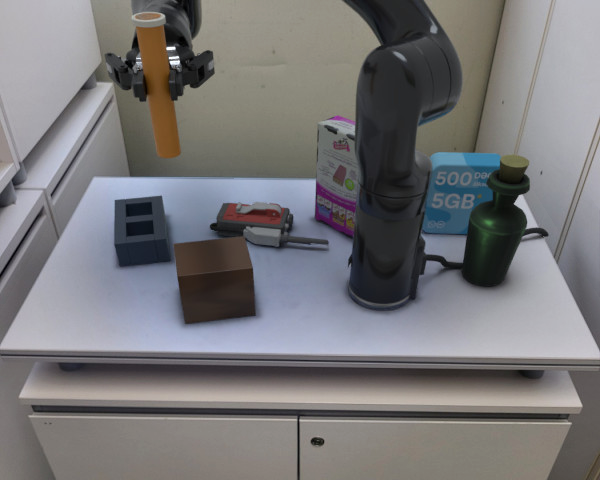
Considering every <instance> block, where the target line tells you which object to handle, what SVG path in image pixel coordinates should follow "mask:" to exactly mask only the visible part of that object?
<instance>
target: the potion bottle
mask: <svg viewBox="0 0 600 480" xmlns="http://www.w3.org/2000/svg"><path fill="white" fill-rule="evenodd" d="M529 166H530V160H529V159H528V158H526V157H525V156H522V155H519V154H505V155H502V156H501V158H500V169H499V170H495V171H493V172H492V173H491V174H490V176H489V177H488V179H487V182H486V184H487V186H488V188H490V189H491V190H493V200H491V201H487V202H483V203H480V204H479V205H477V206H476V207H475V208H474V209H473V210H472V211H471V213H470V217H469V224H468V231H467V234H466V239H465V245H464V251H463V252H464V253H463V258H462V259H463V260H462V263H463V265H462V269H461V273H462V276H463V277H464V279H466V280H467V281H468V282H470V283H471V284H473V285H475V286H481V287H493V286H496V285H499V284H501V283H502V282H503V281H504V280H505V279H506V276H507V273H508V272H509V270H510V267H511V265H512V262H513V260H514V257H515V255H516V252H517V250H518V248H519V246H520V244H521V241H522V239H523V237H524V236H523V234H524V232H525V230H526V229H527V228H528V218H527V215H526V213H525V212H524V210H523V209H521V208H520V207H519V206H518V205H516V204H515V203H516V201H517V200H518V198H519V196H521V195H525V194H527V193H528V192H530V190H531V180H530V179H531V178H530V177H529V175H527V174H526V170H527V169H528V167H529Z"/></svg>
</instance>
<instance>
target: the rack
mask: <svg viewBox="0 0 600 480" xmlns="http://www.w3.org/2000/svg"><path fill="white" fill-rule="evenodd" d="M166 216H167V215H166V211H165V206H164V200H163V195H153V196H141V197H132V198H131V197H129V198H120V199H114V218H113V219H114V223H113V224H114V225H113V226H114V228H113V230H114V231H113V237H114V238H113V245H114V249H115V253H116V258H117V262H118V265H119V267H126V266H135V265H136V266H137V265H145V264H156V263H163V262H164V263H165V262H170V261H171V255H170V246H169V237H168V226H167V218H166Z"/></svg>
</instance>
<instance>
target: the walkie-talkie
mask: <svg viewBox="0 0 600 480" xmlns="http://www.w3.org/2000/svg"><path fill="white" fill-rule="evenodd" d="M290 211H291V210H290V208H289V207H282V206H281V205H280V204H278V203H273V202H269V203H268V202H264V201H263V202H261V201H256V202H253V203H251V204H250V203H249V204H248V203H242V202H240V201H238V203H236V202H223V203H222V205H221V207H220V208H219V211H218V213H217V215H216V218H215V220H216V222H211V223H210V224H209V230H210V231H212V232H217V234H219V235H220V236H225V237H226V236H227V237H241V236H244V237H245V240H247V241H249V242H251V243H253V244H254V245H264V246H271V247H272V246H273V247H280V244H288V243H289V244H297V245H299V244H301V245H308V246H309V245H311V244H314V245H315V244H316V245H325V246H327V245H329V240H328V239H325V238H314V237H305V236H292V235H289V232H287V231H288V230H289V228H291V227H293V226H294V214H293V213H290Z"/></svg>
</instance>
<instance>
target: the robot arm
mask: <svg viewBox="0 0 600 480" xmlns="http://www.w3.org/2000/svg"><path fill="white" fill-rule="evenodd" d="M340 1H341V2H342V3H343V4H345V5H346V6H347V7H349V8H350V9H351V10H353V11H354V12H355V13H356V14H357V15H358V16H359V17H360V18H361V19H362V20H363V21H364V22H365V23H366V24H367V26H368V27H369V29H370V30H371V31H372V33H373V35H374V36H375V39H377V41H378V43H379V44H380V45H378V46H376V47H375V48H373V49H372V50H370V52H368V54H366V56H365V58H364V60H363V61H362V63H361V66H360V69H359V71H358V76H357V81H356V91H355V108H354V110H355V111H354V112H355V113H354V122H355V156H356V160H357V164H358V168H359V175H358V186H357V198H356V210H355V222H354V233H353V238H352V246H351V254H350V256H349V258H348V259H347V268H349V267H350V271H349V279H348V286H347V292H348V295H349V296H350V298H351V299H352V300H353V301H354V302H355V303H357V304H359V305H360V306H362V307H365V308H368V309H373V310H376V311H377V310H378V311H387V310H393V309H398V308H400V307H403V306H405V305H406V304H407V303H408V302H409V301H413V300H416V297H417V291H418V287H419V281H420V276H424V275H425V270H426V265H427V262H437V263H440V265H441V266H442V267H444V268H446V269H455V270H456V269H457V270H462V265H463V262H455V261H449V260H447V259H446V258H445V257H444V256H442V255H438V254H431V253H430V254H427V253H426V252H425V250H426V240H425V239H424V237H423V236H422V233H423V222H424V217H425V211H426V205H427V200H428V194H429V188H430V184H431V178H432V172H433V165H432V161H431V160H430V157H429V155H427V154H426V153H424V152H423V151H422V150H419V149H416V146H417V136H418V128H419V127H421V126H424V125H426V124H429V123H432V122H433V121H436V120H438V119H440V118H442V117H444V116H446V115H448V114H449V113H450V112H452V111H453V110H454V109H455V107H456V106H457V105H458V102H459V101H460V99H461V96H462V92H463V84H464V74H463V67H462V62H461V60H460V59H461V58H460V56H459V54H458V51H457V49H456V47H455V45H454V43H453V42H452V40H451V38H450V36H449V35H448V33H447V32H446V30H445V29H444V27H443V26H442V24H441V23H440V22H439V20H438V18H437V17H436V16H435V14H434V13H433V11H432V9H431V8H430V6H429V5H428V4H427V2H426V0H340ZM202 5H203V3H202V0H130V8H131V16H133V15H135V14H137V13H142V12H158V13H162V14H164V15H165V19H166V23H165V24H163V25H164V32H165V39H166V47H167V54H168V61H169V69H170V73H169V87H170V94H171V100H172V101H174V102H177V101H179V97H183V96H184V91H185V89H186V87H185V86H189V88H191V89H199V88H200V87H201V86H202V85H203V84H205V83H206V82H207V81H208V80H209V79H210V78H212V77H213V76H214V75H215V74H216V72H215V71H216V70H215V59H214V51H213V50H209V49H206V50H204V51H203V52H199V53H195V52H194V50H193V47H194V45H193V41H194V40H195V39H196V38H197V37H198V35H199V33H200V32H201V28H202V23H203V6H202ZM104 59H105V65H106V69H107V74H108V77H109V78H110V79H111V80H112V81H113V82H114V83H115V84H116V85H117V86H118V87H119V88H120V89H121V90H122V91H130V90H132V94H133V97H134V98H138V100H139V102H140V103H144V102H147V100H148V97H147V90H146V84H145V78H144V73H143V67H142V61H141V55H140V49H139V43H138V37H137V31H136V27H135V28H134V33H133V37H132V41H131V49H130V50H129V51H127V52H126V54H125V57H122V56H121V55H119V54H118V55H116V53H114V52H107V53H105V54H104ZM532 234H533V235H534V234H538V235H540V236H542V237H543V238H548V237H549V236H550V234H549V232H548V231H547V230H546V229H545V228H542V227H536V226H535V227H530V228H526V230H525V232H524V234H523V237H525V236H529V235H532Z"/></svg>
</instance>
